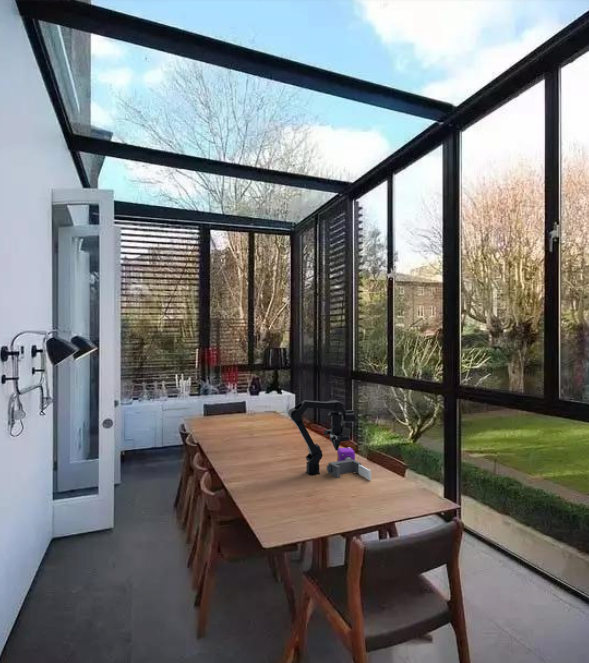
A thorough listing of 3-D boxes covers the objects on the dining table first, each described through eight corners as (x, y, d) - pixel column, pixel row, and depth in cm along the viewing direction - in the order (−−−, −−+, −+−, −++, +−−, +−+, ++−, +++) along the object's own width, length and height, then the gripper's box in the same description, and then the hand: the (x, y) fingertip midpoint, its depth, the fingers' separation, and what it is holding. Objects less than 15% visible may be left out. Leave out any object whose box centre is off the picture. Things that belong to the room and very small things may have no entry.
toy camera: (342, 470, 246) (342, 452, 246) (334, 463, 259) (334, 446, 259) (359, 468, 249) (359, 451, 249) (350, 462, 262) (350, 445, 262)
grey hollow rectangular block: (335, 478, 231) (335, 467, 231) (326, 473, 239) (326, 462, 239) (361, 473, 239) (361, 463, 239) (352, 469, 247) (352, 459, 247)
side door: (371, 479, 228) (371, 470, 228) (369, 480, 227) (369, 470, 227) (360, 473, 238) (360, 464, 238) (358, 473, 238) (358, 464, 238)
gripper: (357, 424, 239) (357, 452, 239) (339, 418, 256) (339, 445, 256) (340, 426, 234) (340, 455, 234) (323, 420, 251) (323, 447, 250)
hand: (336, 450), depth 244 cm, fingers closed
